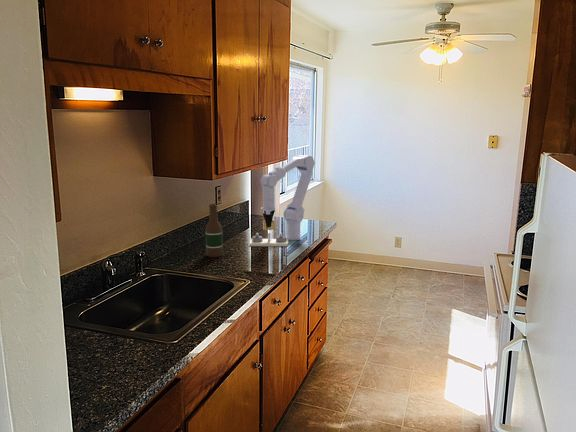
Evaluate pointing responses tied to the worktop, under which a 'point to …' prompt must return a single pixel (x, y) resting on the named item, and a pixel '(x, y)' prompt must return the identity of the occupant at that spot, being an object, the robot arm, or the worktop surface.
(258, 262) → the worktop surface
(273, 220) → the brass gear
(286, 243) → the gear board
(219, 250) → the beer bottle
